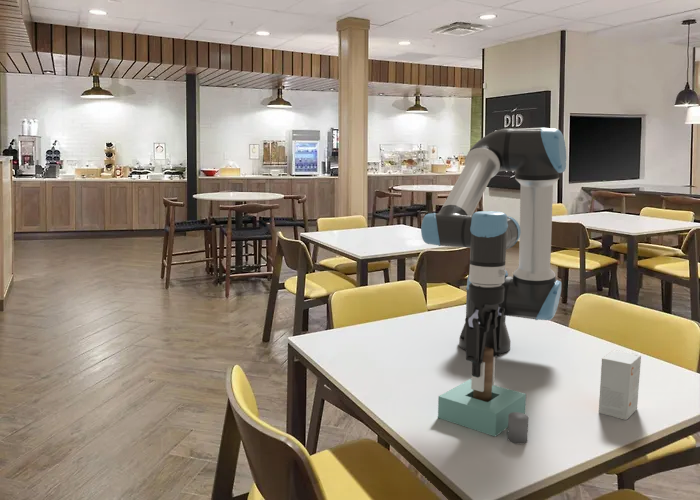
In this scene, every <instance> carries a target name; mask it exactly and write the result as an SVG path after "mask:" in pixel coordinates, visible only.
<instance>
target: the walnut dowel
mask: <svg viewBox="0 0 700 500" xmlns="http://www.w3.org/2000/svg"><path fill="white" fill-rule="evenodd" d="M483 362H485V376H484V391H483V392H480V391H477V390H473V398H475V399H478V400H482V401H485V402H489V401H491V397H492V374H493V349H492V348H490V347H485V349H484V356H483Z"/></svg>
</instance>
